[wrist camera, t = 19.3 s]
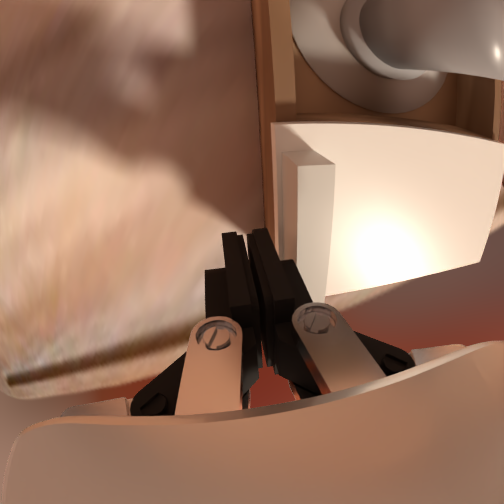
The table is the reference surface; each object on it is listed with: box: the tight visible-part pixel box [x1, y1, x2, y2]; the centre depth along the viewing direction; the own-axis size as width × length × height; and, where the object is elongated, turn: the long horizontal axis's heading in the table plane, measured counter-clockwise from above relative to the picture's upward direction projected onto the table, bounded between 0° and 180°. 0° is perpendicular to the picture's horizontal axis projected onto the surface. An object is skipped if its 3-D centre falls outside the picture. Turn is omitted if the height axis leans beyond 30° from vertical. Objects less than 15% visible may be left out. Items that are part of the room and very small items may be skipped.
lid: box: [271, 121, 504, 303], centre depth 11 cm, size 14×8×3 cm, turn 94°
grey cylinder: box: [340, 0, 504, 81], centre depth 7 cm, size 6×7×8 cm
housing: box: [251, 0, 501, 246], centre depth 11 cm, size 14×20×4 cm
